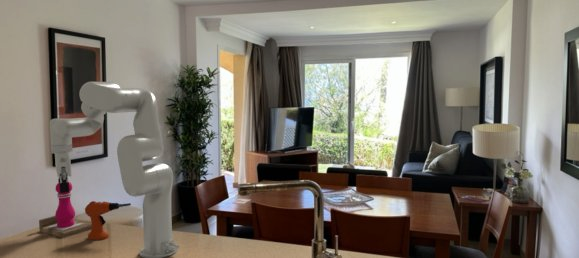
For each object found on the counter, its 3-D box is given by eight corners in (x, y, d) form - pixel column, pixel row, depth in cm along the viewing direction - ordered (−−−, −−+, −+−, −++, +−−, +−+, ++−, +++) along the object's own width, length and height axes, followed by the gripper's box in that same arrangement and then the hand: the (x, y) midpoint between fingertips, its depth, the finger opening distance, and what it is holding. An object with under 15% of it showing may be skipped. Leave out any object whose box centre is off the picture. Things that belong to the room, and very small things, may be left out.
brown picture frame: (91, 228, 167) (91, 217, 167) (64, 237, 157) (63, 225, 156) (67, 223, 175) (66, 212, 174) (39, 231, 164) (38, 220, 164)
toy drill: (132, 236, 153) (126, 198, 152) (85, 242, 155) (79, 204, 153) (138, 232, 158) (132, 195, 157) (92, 237, 159) (86, 200, 158)
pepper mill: (51, 227, 162) (48, 179, 161) (64, 222, 170) (61, 175, 168) (67, 228, 161) (65, 179, 160) (79, 223, 168) (77, 176, 167)
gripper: (74, 150, 158) (76, 193, 159) (70, 145, 172) (72, 185, 174) (51, 151, 154) (54, 195, 155) (50, 147, 168) (52, 187, 170)
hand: (63, 190), depth 164 cm, fingers open, 9 cm apart
